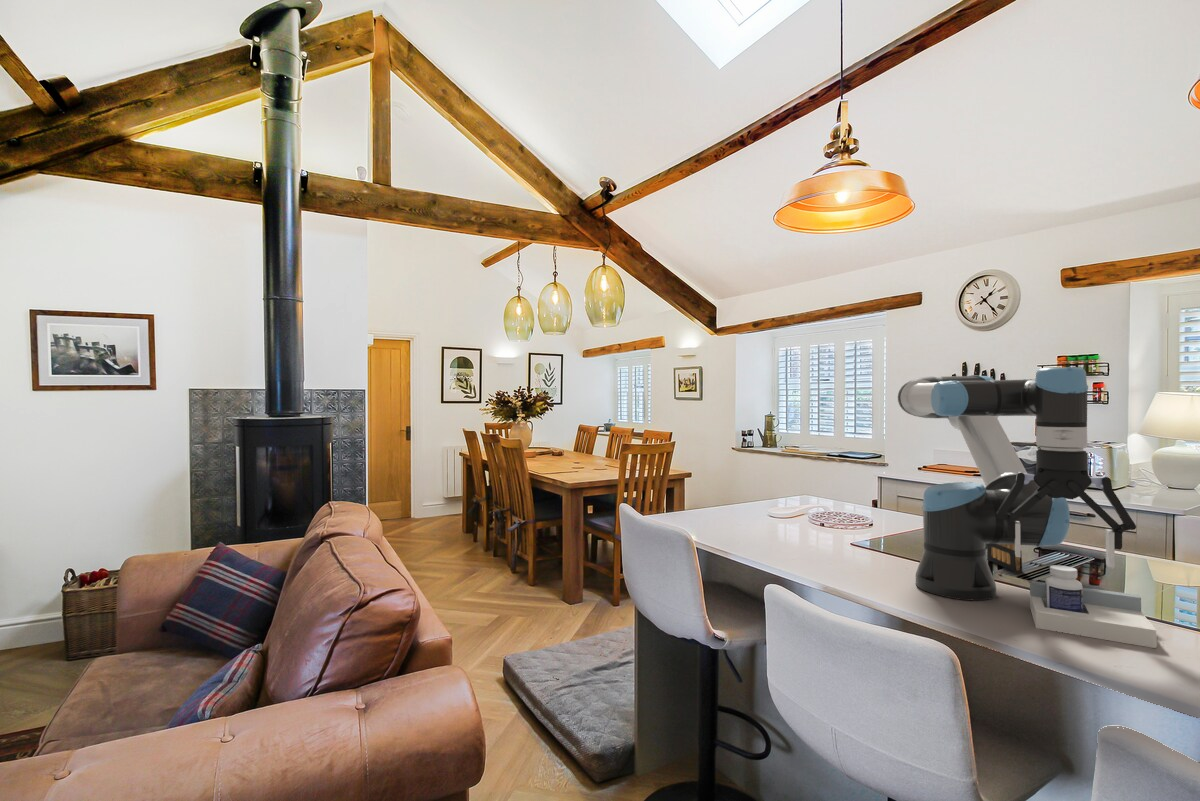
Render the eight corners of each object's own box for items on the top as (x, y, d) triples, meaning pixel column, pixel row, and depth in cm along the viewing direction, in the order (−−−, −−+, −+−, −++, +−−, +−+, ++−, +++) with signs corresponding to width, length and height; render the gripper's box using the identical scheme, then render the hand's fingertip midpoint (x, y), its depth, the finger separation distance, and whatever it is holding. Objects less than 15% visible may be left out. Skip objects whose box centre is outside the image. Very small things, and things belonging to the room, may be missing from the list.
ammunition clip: (986, 559, 147) (986, 514, 148) (994, 559, 147) (993, 514, 147) (1014, 571, 137) (1013, 522, 137) (1022, 571, 137) (1021, 522, 137)
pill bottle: (1090, 626, 102) (1089, 572, 102) (1057, 624, 103) (1055, 571, 103) (1072, 614, 108) (1070, 564, 108) (1040, 613, 109) (1039, 563, 109)
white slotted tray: (1035, 628, 103) (1035, 597, 103) (1030, 608, 113) (1029, 580, 113) (1156, 648, 94) (1155, 615, 94) (1138, 624, 104) (1138, 594, 104)
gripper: (981, 448, 110) (983, 555, 110) (1158, 453, 96) (1159, 577, 96) (981, 445, 116) (982, 547, 116) (1146, 449, 102) (1147, 565, 102)
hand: (1062, 560), depth 106 cm, fingers open, 13 cm apart
